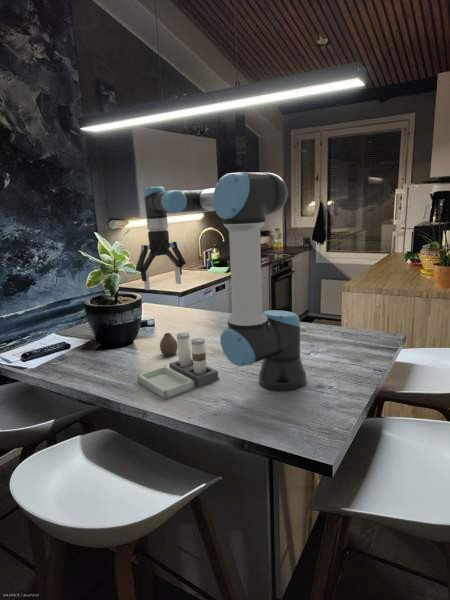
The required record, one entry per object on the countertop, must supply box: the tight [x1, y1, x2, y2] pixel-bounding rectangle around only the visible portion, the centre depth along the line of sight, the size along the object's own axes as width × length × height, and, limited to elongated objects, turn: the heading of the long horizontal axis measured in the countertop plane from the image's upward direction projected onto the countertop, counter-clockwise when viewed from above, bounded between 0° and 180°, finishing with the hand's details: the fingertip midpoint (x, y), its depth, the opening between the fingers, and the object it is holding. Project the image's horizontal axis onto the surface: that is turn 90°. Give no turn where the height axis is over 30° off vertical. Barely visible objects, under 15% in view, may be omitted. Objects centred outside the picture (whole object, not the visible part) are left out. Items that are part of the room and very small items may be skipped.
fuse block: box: [168, 358, 221, 387], centre depth 140 cm, size 18×9×3 cm, turn 38°
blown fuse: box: [190, 337, 207, 376], centre depth 135 cm, size 4×4×14 cm
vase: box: [159, 332, 178, 357], centre depth 161 cm, size 7×7×9 cm
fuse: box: [176, 332, 193, 368], centre depth 142 cm, size 4×4×14 cm
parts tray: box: [137, 365, 196, 400], centre depth 134 cm, size 18×11×3 cm, turn 38°
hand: (163, 286), depth 155 cm, fingers open, 13 cm apart
